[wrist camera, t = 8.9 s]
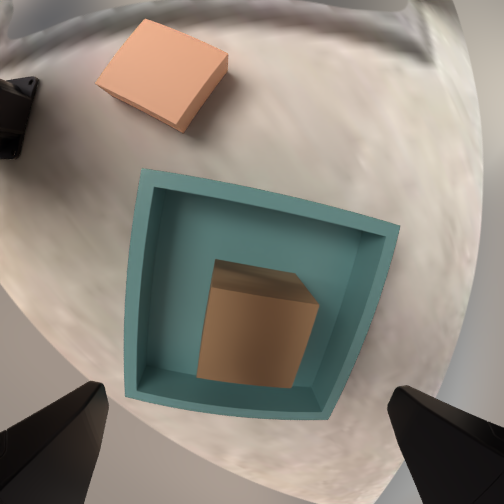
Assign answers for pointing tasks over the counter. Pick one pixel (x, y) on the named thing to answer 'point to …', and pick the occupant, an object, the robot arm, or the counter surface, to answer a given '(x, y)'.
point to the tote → (250, 253)
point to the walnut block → (255, 326)
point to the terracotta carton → (164, 73)
